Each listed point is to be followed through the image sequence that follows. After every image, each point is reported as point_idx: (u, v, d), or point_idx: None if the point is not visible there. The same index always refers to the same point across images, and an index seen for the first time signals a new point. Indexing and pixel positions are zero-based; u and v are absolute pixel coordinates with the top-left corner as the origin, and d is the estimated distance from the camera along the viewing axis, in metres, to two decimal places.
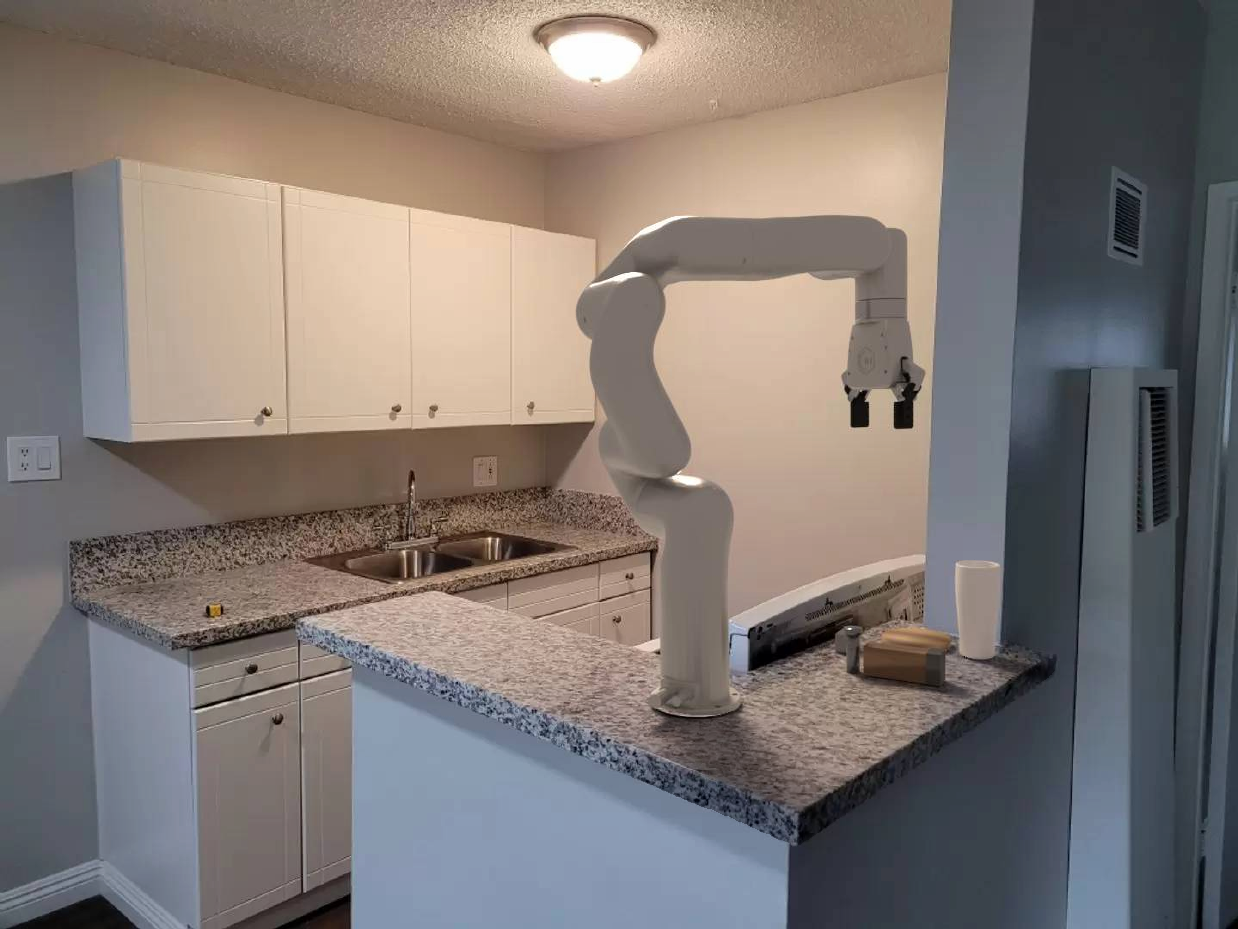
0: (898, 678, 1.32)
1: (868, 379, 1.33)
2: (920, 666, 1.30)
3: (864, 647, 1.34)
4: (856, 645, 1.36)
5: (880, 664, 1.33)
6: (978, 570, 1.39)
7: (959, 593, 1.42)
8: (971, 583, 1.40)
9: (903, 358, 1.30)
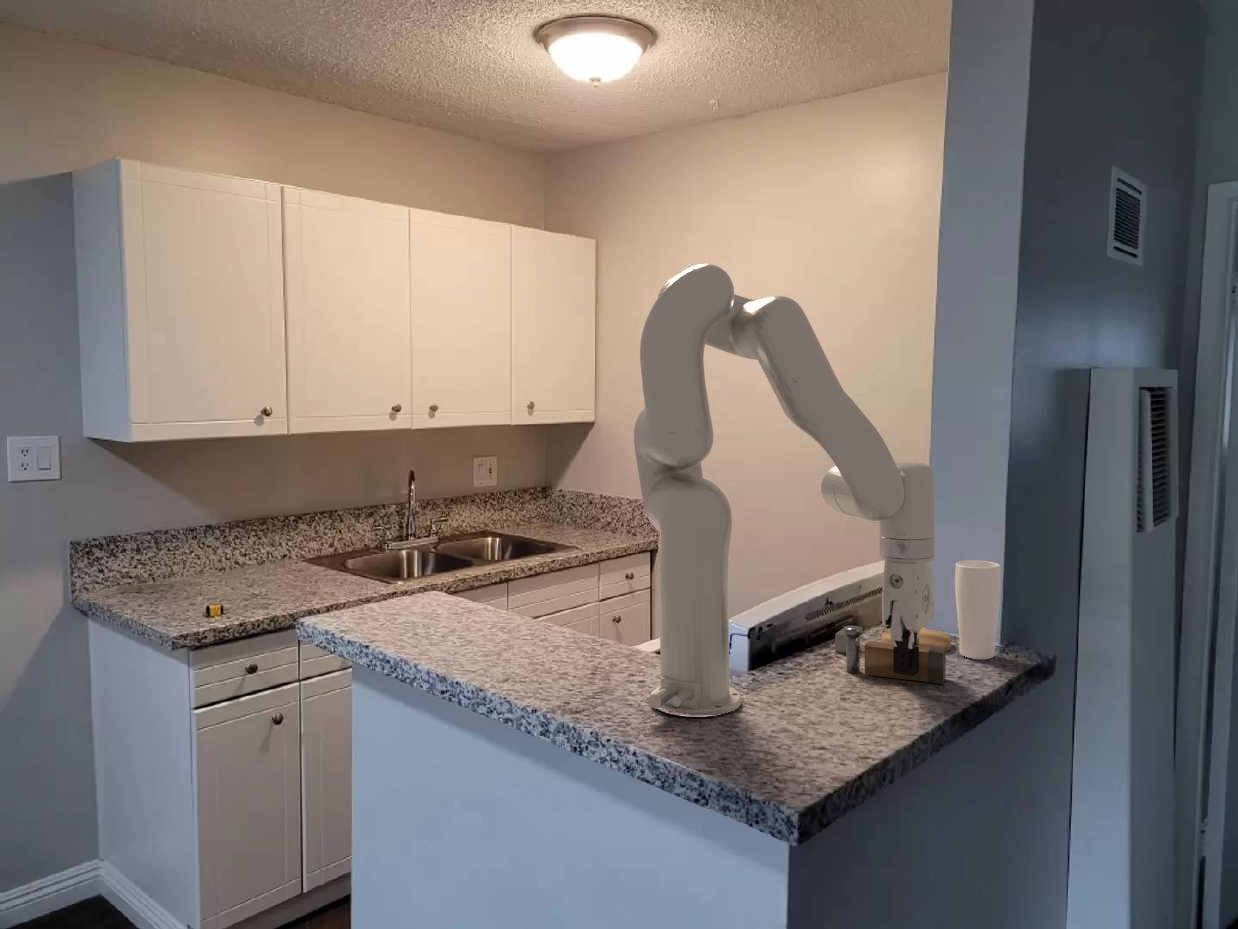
0: (900, 677, 1.32)
1: (927, 617, 1.28)
2: (922, 664, 1.31)
3: (865, 647, 1.34)
4: (856, 645, 1.36)
5: (882, 663, 1.34)
6: (978, 570, 1.39)
7: (959, 593, 1.42)
8: (971, 583, 1.40)
9: None
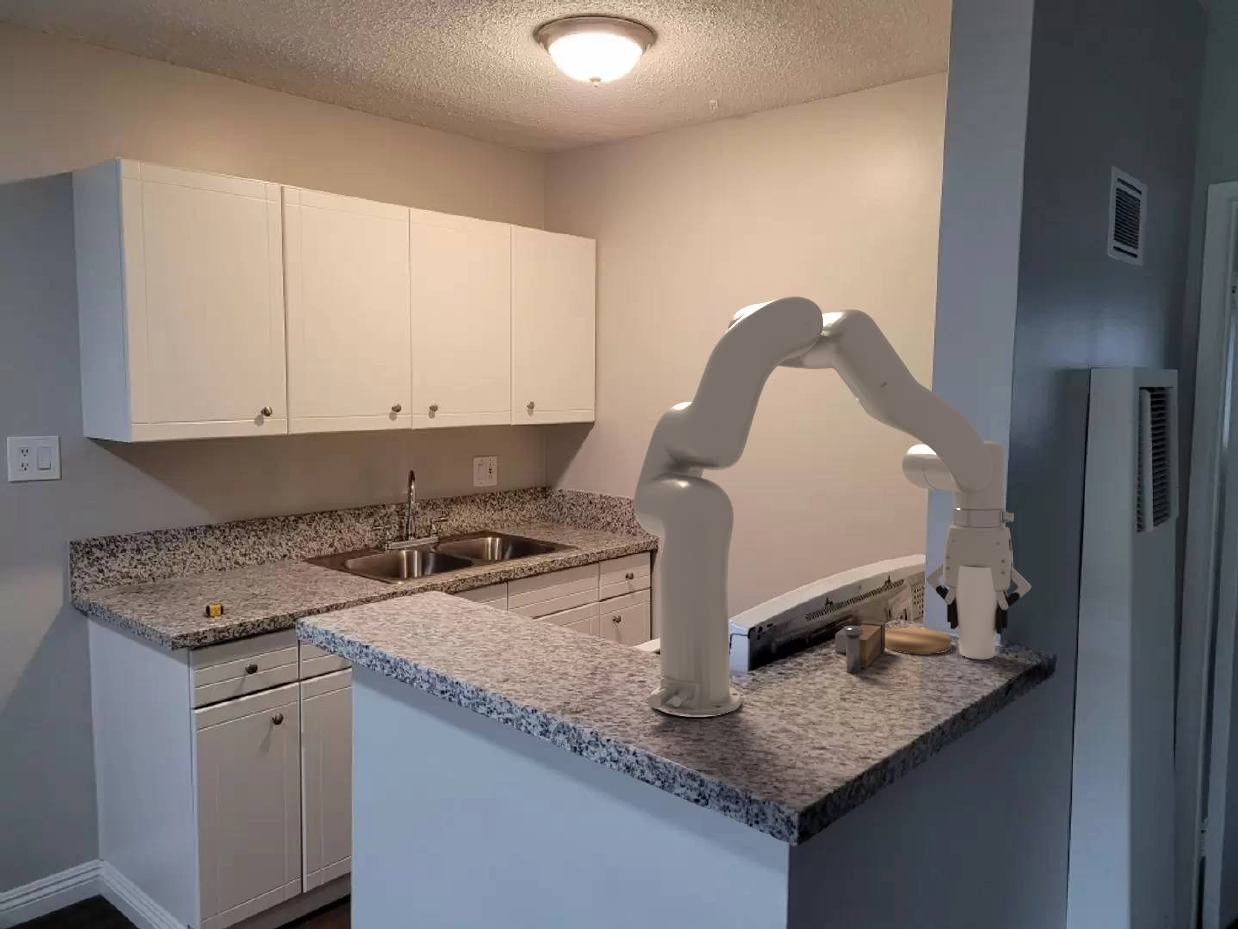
0: (874, 657, 1.42)
1: None
2: (879, 639, 1.45)
3: (866, 640, 1.38)
4: (856, 645, 1.36)
5: (870, 651, 1.40)
6: (978, 570, 1.40)
7: (959, 593, 1.42)
8: (971, 583, 1.40)
9: None
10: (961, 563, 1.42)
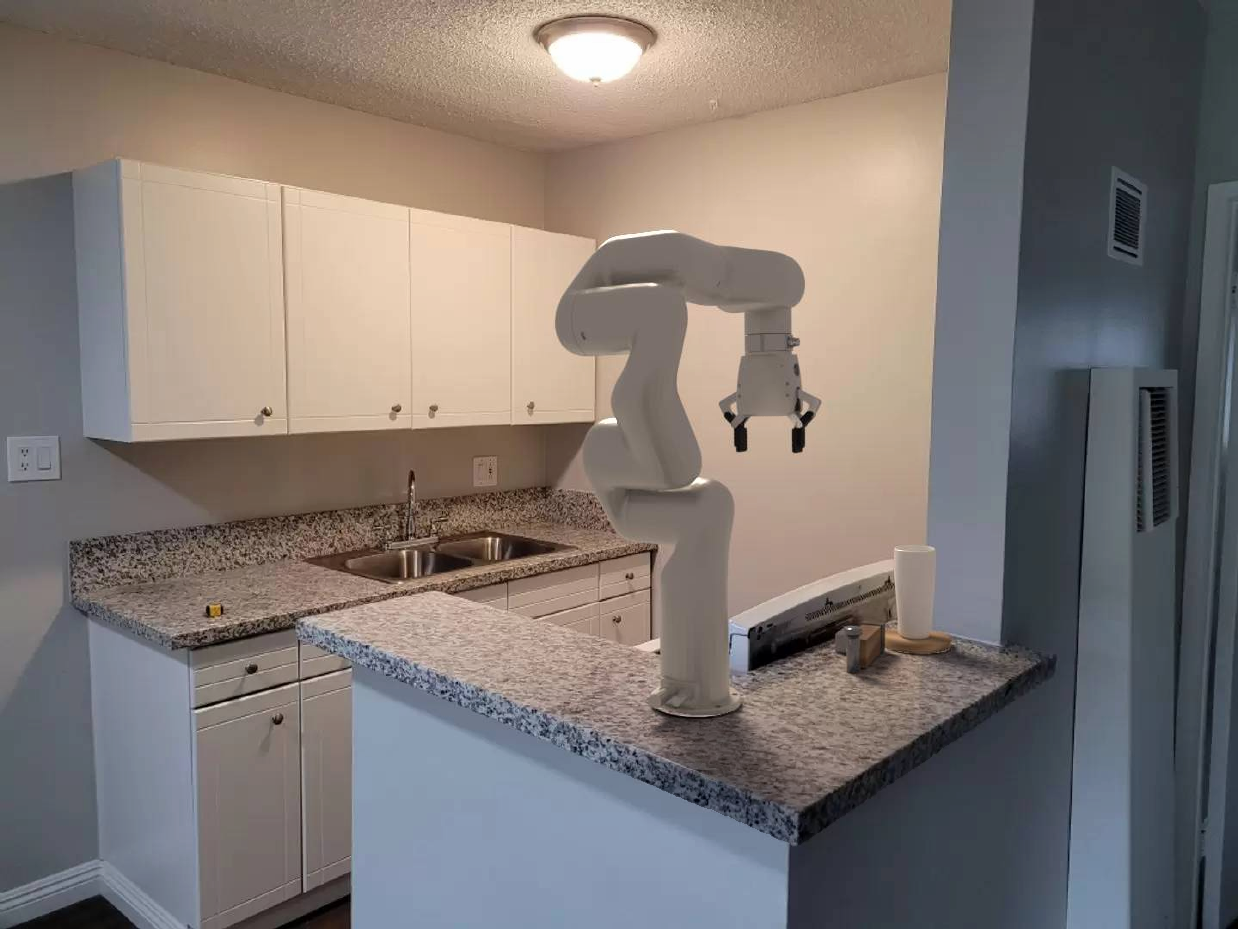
0: (874, 657, 1.42)
1: None
2: (879, 639, 1.45)
3: (866, 640, 1.38)
4: (856, 645, 1.36)
5: (870, 651, 1.40)
6: (914, 554, 1.46)
7: (897, 576, 1.49)
8: (907, 566, 1.47)
9: None
10: (751, 390, 1.44)
